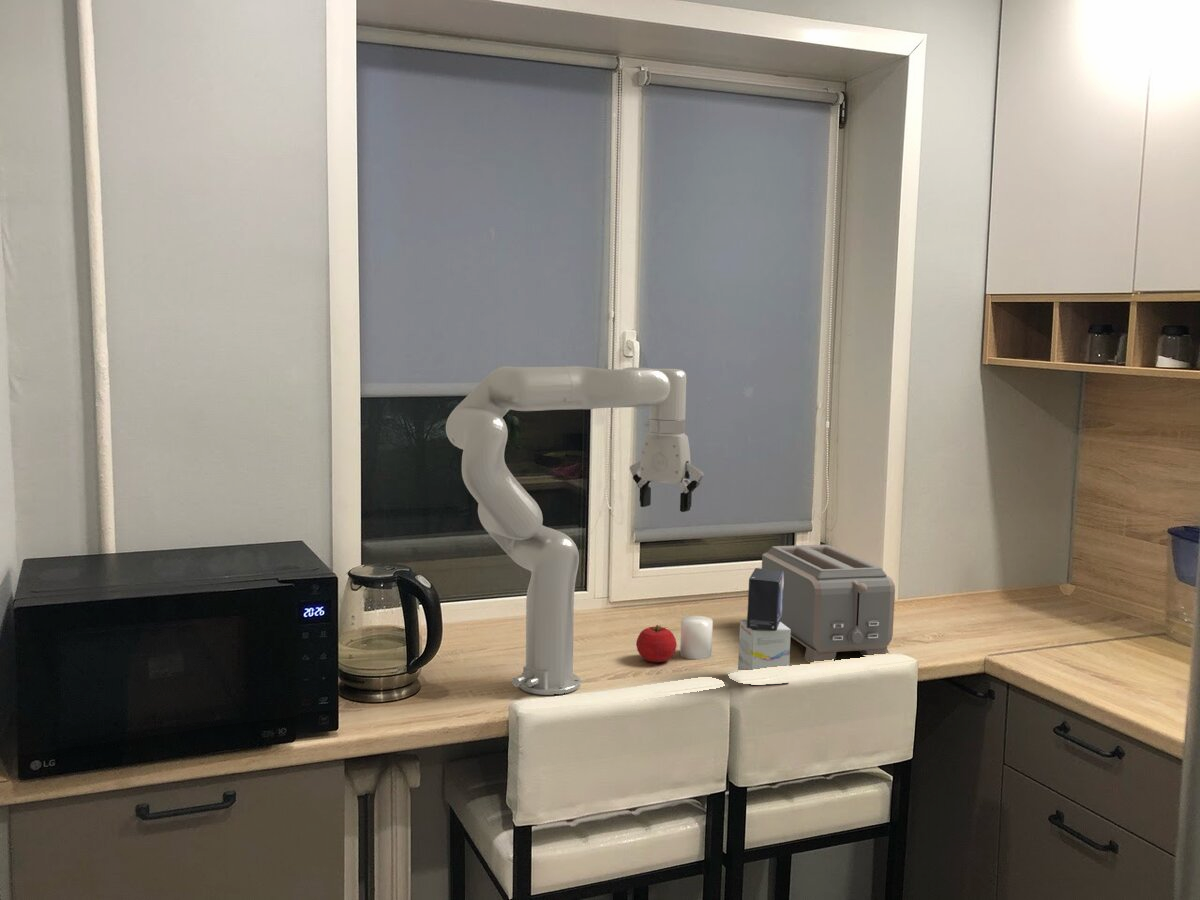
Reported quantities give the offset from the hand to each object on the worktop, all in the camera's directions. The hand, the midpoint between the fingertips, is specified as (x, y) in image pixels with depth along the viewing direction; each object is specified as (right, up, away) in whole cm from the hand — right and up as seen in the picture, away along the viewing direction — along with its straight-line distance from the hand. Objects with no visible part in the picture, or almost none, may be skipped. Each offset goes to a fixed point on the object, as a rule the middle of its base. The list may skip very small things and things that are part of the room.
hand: (664, 508), depth 214 cm
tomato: (-1, -34, +8) cm, 35 cm away
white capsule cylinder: (+8, -33, +12) cm, 36 cm away
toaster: (+39, -33, +23) cm, 56 cm away
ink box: (+20, -35, -3) cm, 41 cm away
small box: (+20, -24, -4) cm, 32 cm away
